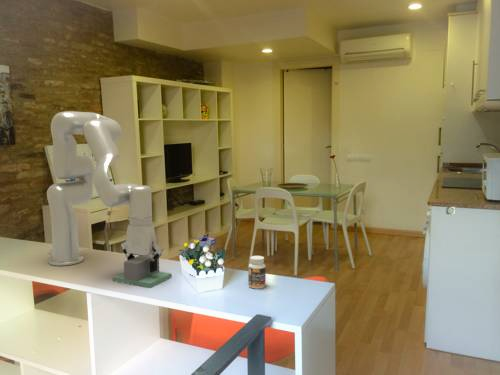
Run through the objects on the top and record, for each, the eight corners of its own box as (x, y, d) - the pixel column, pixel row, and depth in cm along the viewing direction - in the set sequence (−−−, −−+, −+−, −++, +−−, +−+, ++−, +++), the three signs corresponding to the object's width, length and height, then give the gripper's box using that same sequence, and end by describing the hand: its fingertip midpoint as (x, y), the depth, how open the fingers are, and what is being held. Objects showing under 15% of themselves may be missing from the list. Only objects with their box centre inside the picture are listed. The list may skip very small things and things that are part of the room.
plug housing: (137, 281, 148) (136, 263, 147) (123, 278, 150) (123, 261, 150) (159, 271, 159) (158, 255, 158) (146, 269, 161) (145, 253, 161)
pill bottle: (252, 290, 144) (253, 260, 143) (245, 284, 149) (245, 256, 148) (268, 287, 147) (268, 258, 146) (260, 282, 152) (260, 254, 151)
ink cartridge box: (202, 277, 157) (202, 237, 155) (189, 275, 159) (188, 235, 158) (216, 269, 166) (216, 231, 164) (203, 267, 168) (203, 230, 167)
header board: (112, 281, 153) (112, 266, 152) (135, 271, 163) (135, 257, 163) (150, 288, 146) (149, 272, 145) (171, 277, 157) (171, 262, 156)
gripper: (113, 221, 153) (115, 269, 155) (154, 225, 145) (155, 276, 147) (128, 217, 159) (129, 263, 161) (168, 221, 152) (169, 269, 154)
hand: (142, 269), depth 154 cm, fingers open, 9 cm apart
